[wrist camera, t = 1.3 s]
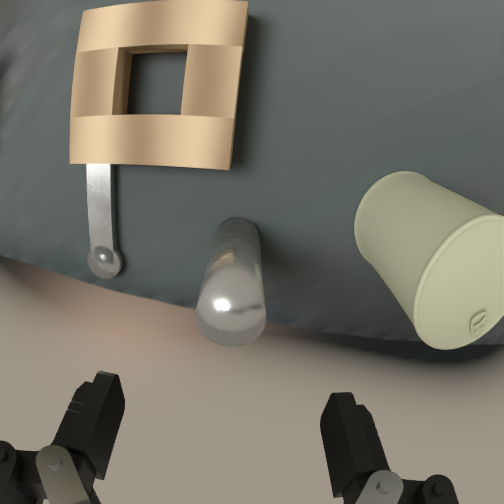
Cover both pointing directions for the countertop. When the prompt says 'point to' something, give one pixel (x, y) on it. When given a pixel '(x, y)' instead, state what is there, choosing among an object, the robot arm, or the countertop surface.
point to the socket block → (194, 92)
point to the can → (435, 256)
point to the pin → (233, 286)
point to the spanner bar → (102, 221)
